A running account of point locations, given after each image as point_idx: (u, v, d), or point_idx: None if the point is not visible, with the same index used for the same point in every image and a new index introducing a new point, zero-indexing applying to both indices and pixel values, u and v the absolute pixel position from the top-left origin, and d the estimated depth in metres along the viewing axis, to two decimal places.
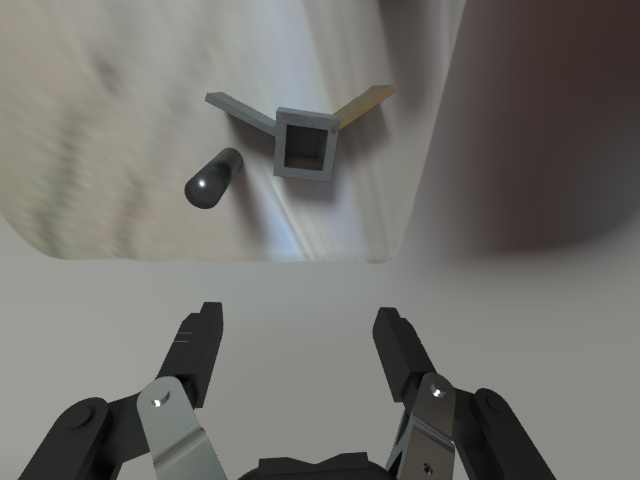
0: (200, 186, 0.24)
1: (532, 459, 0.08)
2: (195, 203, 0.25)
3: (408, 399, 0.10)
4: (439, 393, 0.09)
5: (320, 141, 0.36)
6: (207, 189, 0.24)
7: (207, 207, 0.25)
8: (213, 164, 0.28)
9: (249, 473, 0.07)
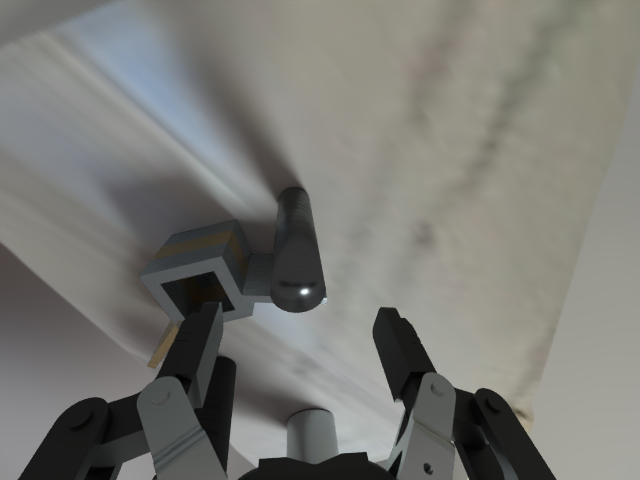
0: (302, 300, 0.15)
1: (532, 459, 0.08)
2: (305, 275, 0.14)
3: (408, 399, 0.10)
4: (439, 393, 0.09)
5: None
6: (291, 300, 0.15)
7: (284, 275, 0.14)
8: None
9: (249, 473, 0.07)
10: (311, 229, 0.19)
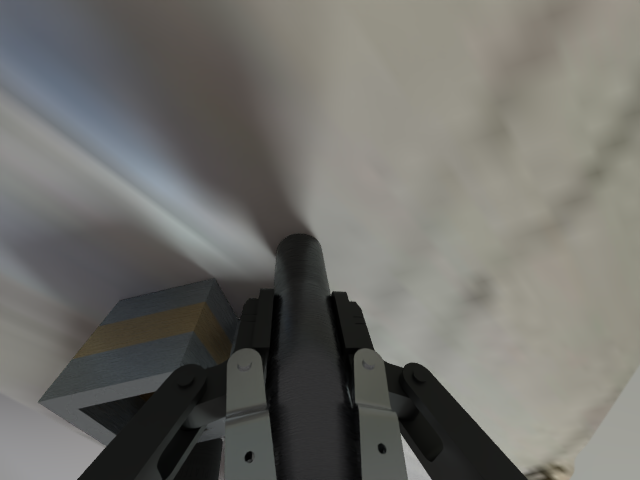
0: None
1: (457, 415, 0.09)
2: None
3: None
4: (368, 366, 0.10)
5: None
6: None
7: None
8: None
9: None
10: (334, 344, 0.10)
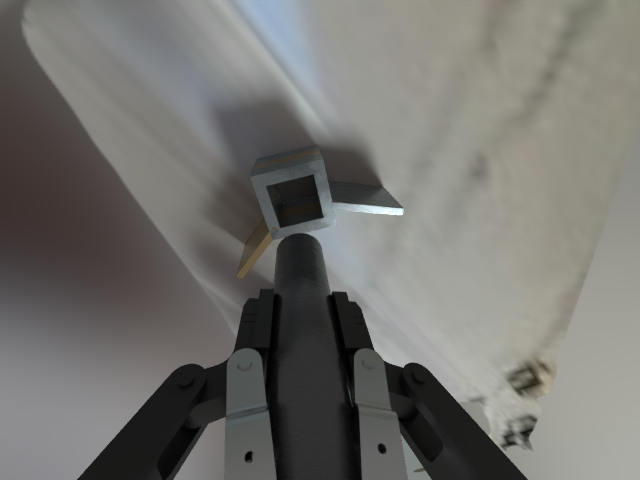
0: None
1: (457, 415, 0.09)
2: None
3: None
4: (368, 366, 0.10)
5: (276, 189, 0.31)
6: None
7: None
8: None
9: None
10: (334, 343, 0.10)
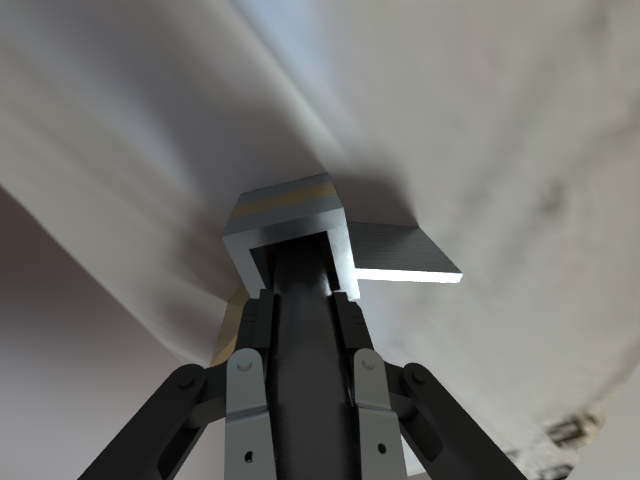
0: None
1: (458, 415, 0.09)
2: None
3: None
4: (368, 366, 0.10)
5: None
6: None
7: None
8: None
9: None
10: (334, 343, 0.10)
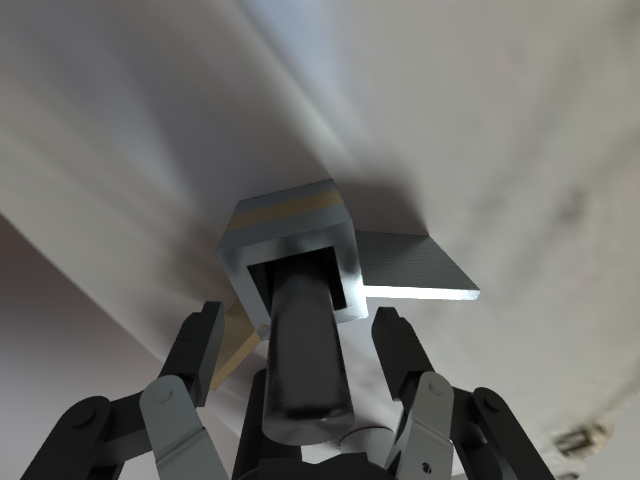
0: (316, 432, 0.09)
1: (530, 457, 0.08)
2: (323, 404, 0.08)
3: (406, 398, 0.10)
4: (437, 392, 0.09)
5: None
6: (298, 433, 0.09)
7: (287, 406, 0.08)
8: None
9: (249, 473, 0.07)
10: (324, 289, 0.13)
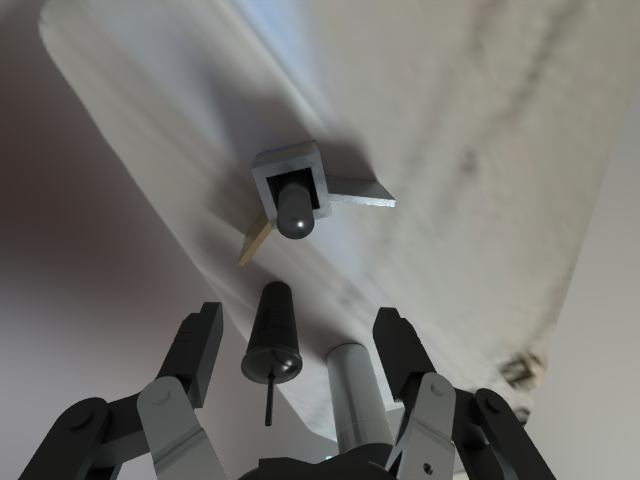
0: (298, 230, 0.22)
1: (532, 459, 0.08)
2: (300, 209, 0.21)
3: (408, 399, 0.10)
4: (439, 393, 0.09)
5: (275, 182, 0.33)
6: (291, 229, 0.22)
7: (286, 209, 0.21)
8: None
9: (249, 473, 0.07)
10: (305, 188, 0.26)
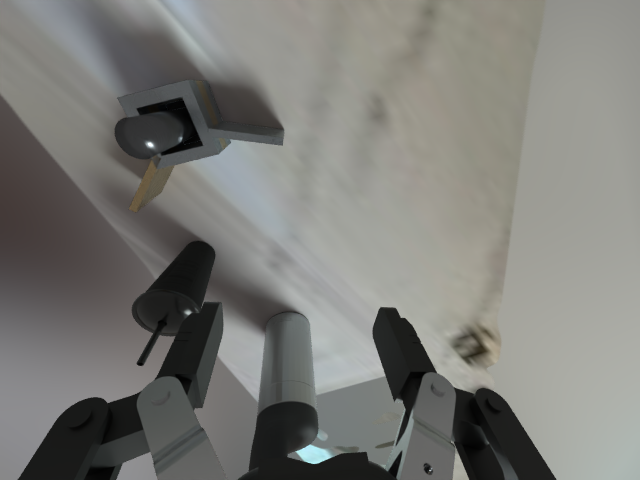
0: (143, 147, 0.21)
1: (532, 459, 0.08)
2: (137, 122, 0.20)
3: (408, 399, 0.10)
4: (439, 393, 0.09)
5: None
6: (134, 146, 0.21)
7: (122, 121, 0.20)
8: None
9: (249, 473, 0.07)
10: (175, 117, 0.25)
